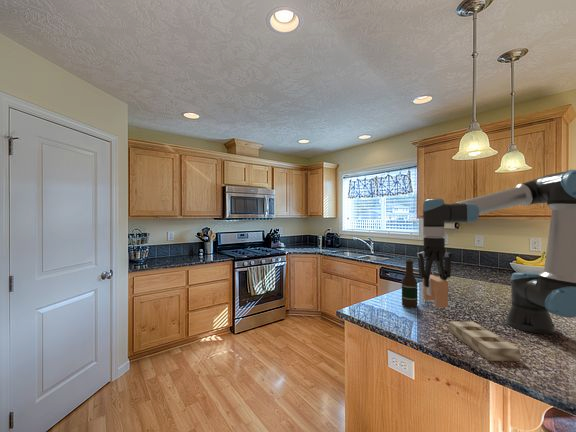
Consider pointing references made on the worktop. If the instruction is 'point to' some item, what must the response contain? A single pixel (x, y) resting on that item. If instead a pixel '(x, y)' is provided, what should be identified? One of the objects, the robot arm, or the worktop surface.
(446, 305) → the orange-brown block
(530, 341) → the worktop surface
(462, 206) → the robot arm
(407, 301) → the beer bottle
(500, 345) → the beige flat slotted piece
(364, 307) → the worktop surface
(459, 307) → the worktop surface
